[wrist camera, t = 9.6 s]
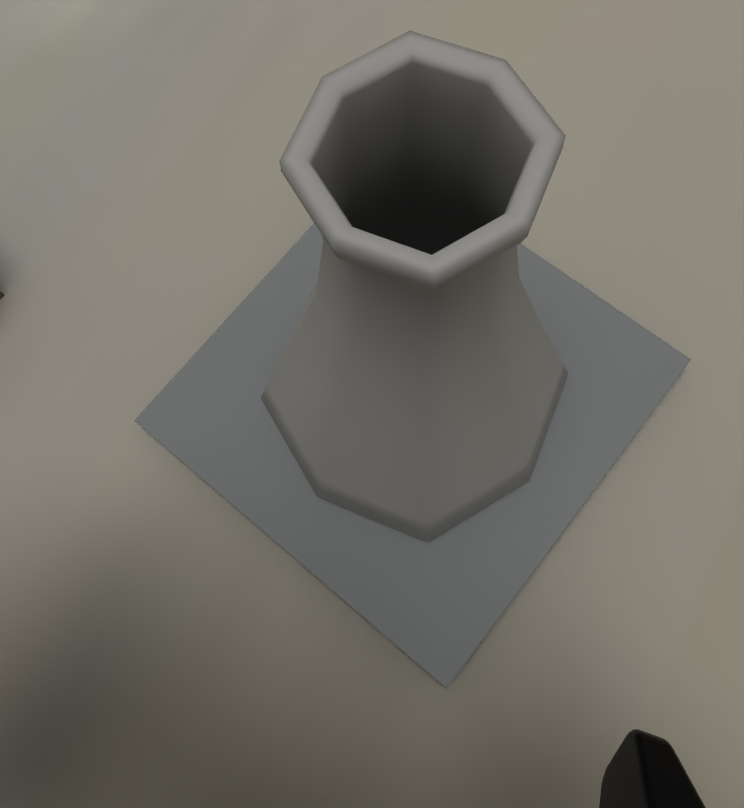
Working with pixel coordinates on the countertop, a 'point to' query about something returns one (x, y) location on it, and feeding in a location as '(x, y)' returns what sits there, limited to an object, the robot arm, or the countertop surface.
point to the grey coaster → (379, 543)
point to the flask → (419, 287)
